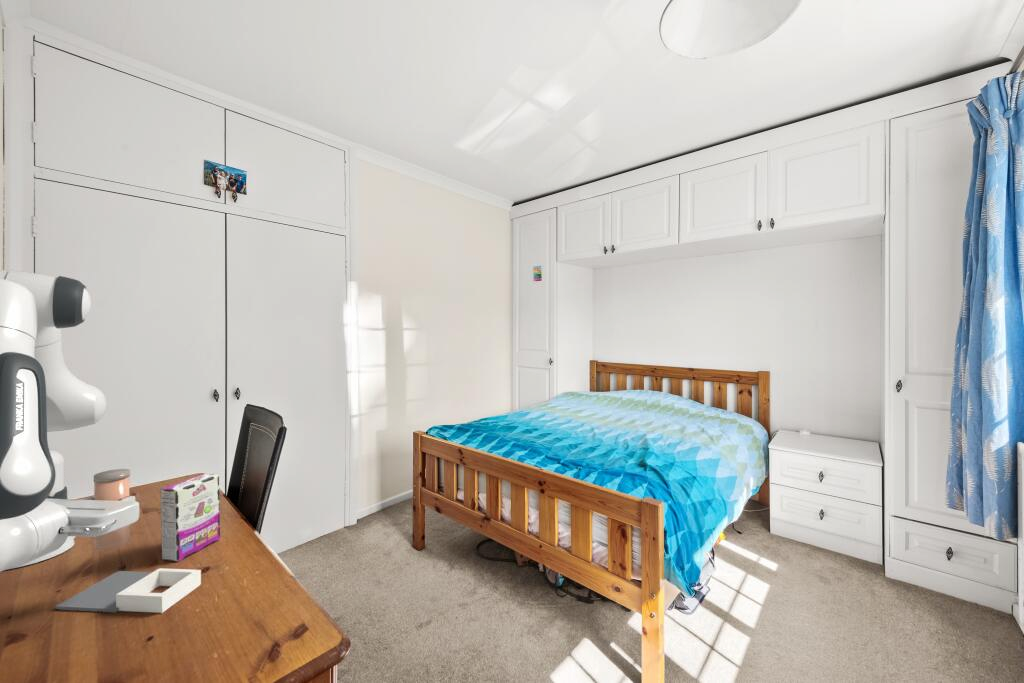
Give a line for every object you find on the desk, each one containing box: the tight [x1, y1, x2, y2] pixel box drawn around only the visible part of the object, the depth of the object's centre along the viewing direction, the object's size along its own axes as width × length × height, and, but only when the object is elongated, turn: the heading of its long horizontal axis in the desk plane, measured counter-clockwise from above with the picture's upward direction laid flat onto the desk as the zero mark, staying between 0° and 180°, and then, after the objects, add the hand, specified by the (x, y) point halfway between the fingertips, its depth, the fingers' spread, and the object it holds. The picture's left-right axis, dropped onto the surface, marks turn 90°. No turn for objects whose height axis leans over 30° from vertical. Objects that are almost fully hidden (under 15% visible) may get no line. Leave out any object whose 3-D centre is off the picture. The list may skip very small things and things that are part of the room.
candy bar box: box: [160, 473, 221, 562], centre depth 102 cm, size 11×5×16 cm, turn 168°
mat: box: [54, 570, 152, 613], centre depth 85 cm, size 12×12×1 cm
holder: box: [116, 567, 202, 614], centre depth 83 cm, size 9×9×3 cm
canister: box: [93, 468, 131, 552], centre depth 83 cm, size 5×5×14 cm
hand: (116, 499), depth 84 cm, fingers closed on canister, 5 cm apart
